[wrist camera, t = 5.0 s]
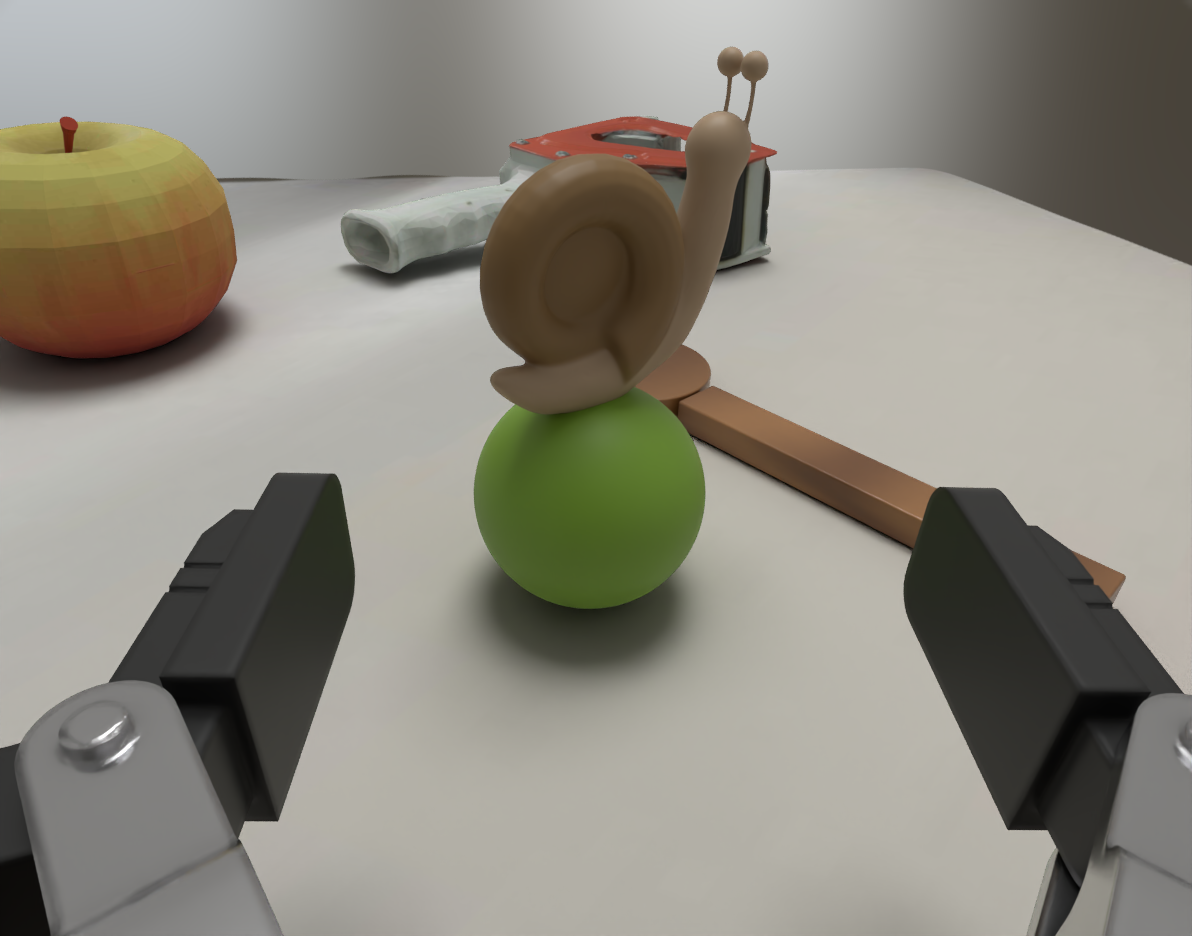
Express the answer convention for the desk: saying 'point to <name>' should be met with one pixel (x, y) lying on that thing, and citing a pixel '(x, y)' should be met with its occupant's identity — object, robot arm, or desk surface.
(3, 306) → the apple
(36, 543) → the desk surface
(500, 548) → the snail figurine
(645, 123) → the tape dispenser
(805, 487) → the spoon
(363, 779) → the desk surface
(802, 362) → the desk surface
